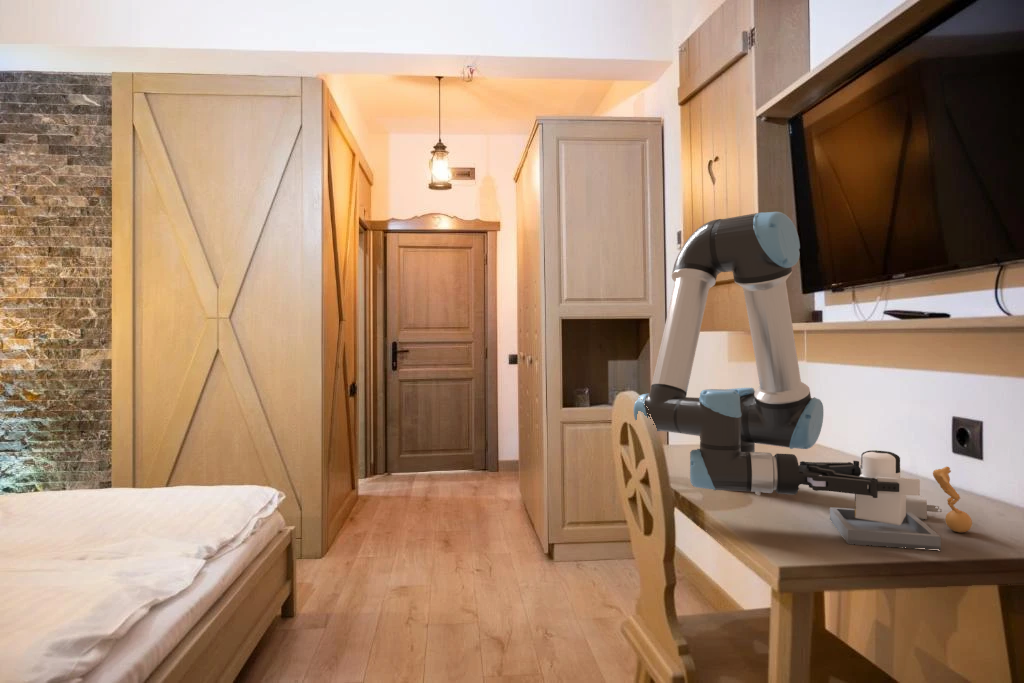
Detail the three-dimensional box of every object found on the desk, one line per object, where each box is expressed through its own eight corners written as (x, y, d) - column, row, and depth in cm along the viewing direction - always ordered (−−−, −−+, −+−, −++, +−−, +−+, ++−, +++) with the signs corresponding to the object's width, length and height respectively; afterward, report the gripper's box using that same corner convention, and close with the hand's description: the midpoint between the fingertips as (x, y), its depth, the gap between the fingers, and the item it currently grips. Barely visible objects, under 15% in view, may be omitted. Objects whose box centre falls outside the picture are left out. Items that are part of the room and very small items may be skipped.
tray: (829, 519, 119) (829, 507, 119) (911, 525, 115) (911, 512, 115) (848, 544, 105) (848, 529, 105) (940, 551, 102) (940, 536, 101)
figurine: (980, 540, 106) (981, 472, 106) (941, 537, 108) (941, 470, 108) (962, 525, 114) (962, 462, 114) (925, 523, 116) (925, 461, 116)
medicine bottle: (861, 509, 115) (861, 446, 115) (906, 516, 110) (906, 451, 110) (854, 518, 109) (854, 452, 109) (900, 526, 105) (901, 457, 105)
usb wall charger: (897, 512, 123) (897, 493, 123) (938, 516, 120) (938, 496, 120) (900, 518, 120) (900, 498, 120) (942, 522, 117) (942, 501, 117)
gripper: (766, 479, 125) (889, 486, 119) (782, 508, 104) (932, 519, 98) (766, 443, 125) (889, 448, 119) (782, 465, 104) (932, 473, 98)
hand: (908, 480), depth 109 cm, fingers closed on medicine bottle, 9 cm apart
